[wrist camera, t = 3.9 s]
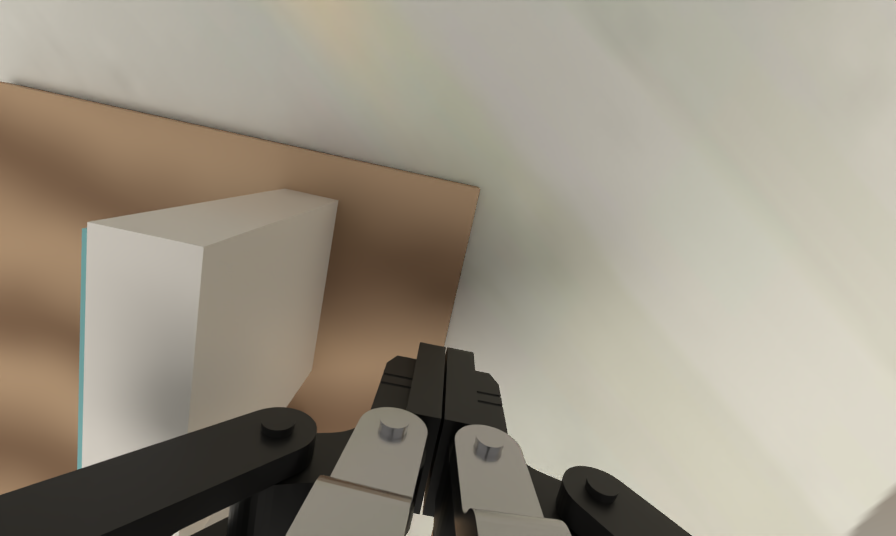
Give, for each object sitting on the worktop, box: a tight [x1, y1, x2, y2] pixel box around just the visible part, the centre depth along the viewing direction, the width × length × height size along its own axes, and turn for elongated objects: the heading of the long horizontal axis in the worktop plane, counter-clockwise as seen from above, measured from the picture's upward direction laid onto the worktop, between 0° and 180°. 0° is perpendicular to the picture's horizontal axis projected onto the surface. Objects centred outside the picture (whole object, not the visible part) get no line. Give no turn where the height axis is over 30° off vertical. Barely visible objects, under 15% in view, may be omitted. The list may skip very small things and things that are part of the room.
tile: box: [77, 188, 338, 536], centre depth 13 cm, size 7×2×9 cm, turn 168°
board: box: [0, 82, 480, 495], centre depth 19 cm, size 20×18×1 cm
